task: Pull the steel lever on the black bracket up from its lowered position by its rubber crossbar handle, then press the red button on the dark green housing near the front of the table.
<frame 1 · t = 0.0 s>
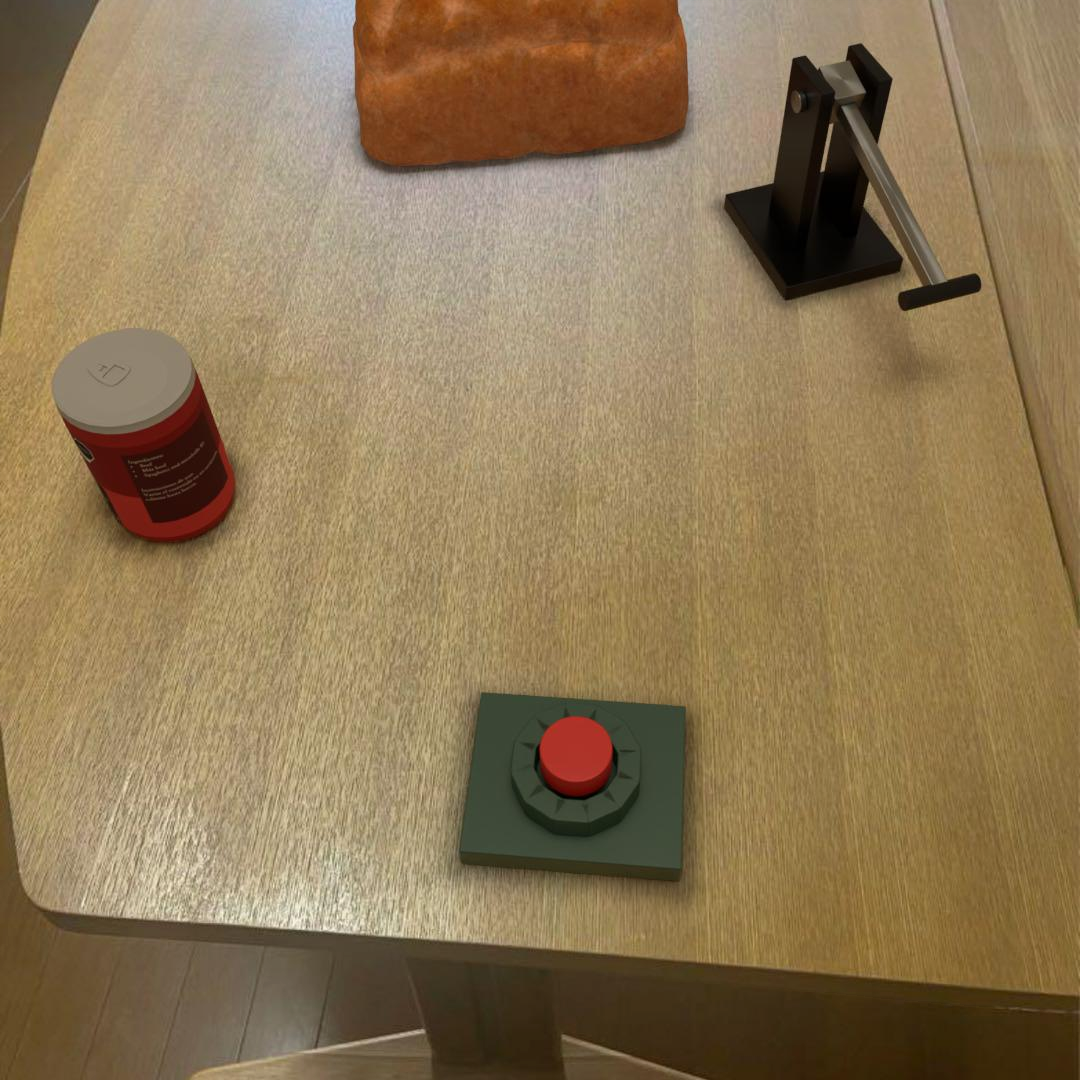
lever: (884, 183, 75), point 10 cm above the table, hinge at -15.0°
canned food: (177, 499, 75), on the table
button: (576, 756, 59), point 4 cm above the table, slide at 0.1 cm
button box: (576, 789, 62), on the table
bracket: (809, 238, 88), on the table
bread: (522, 116, 98), on the table
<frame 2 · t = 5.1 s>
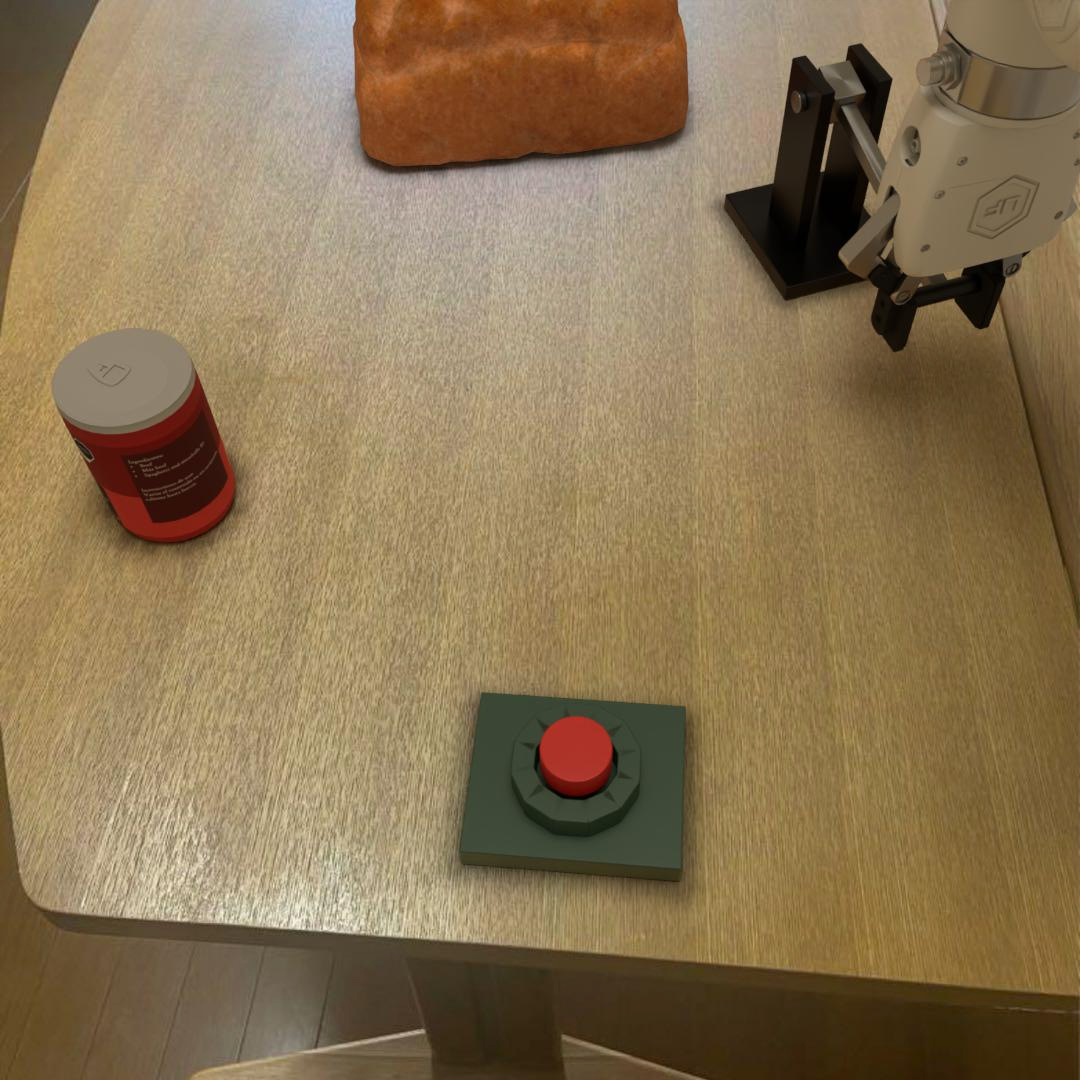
hand: (929, 323, 75), 5 cm above the table, tool pointing down, fingers closed on lever, 5 cm apart
lever: (884, 183, 75), point 10 cm above the table, hinge at -15.0°, touching gripper
everything else where it was.
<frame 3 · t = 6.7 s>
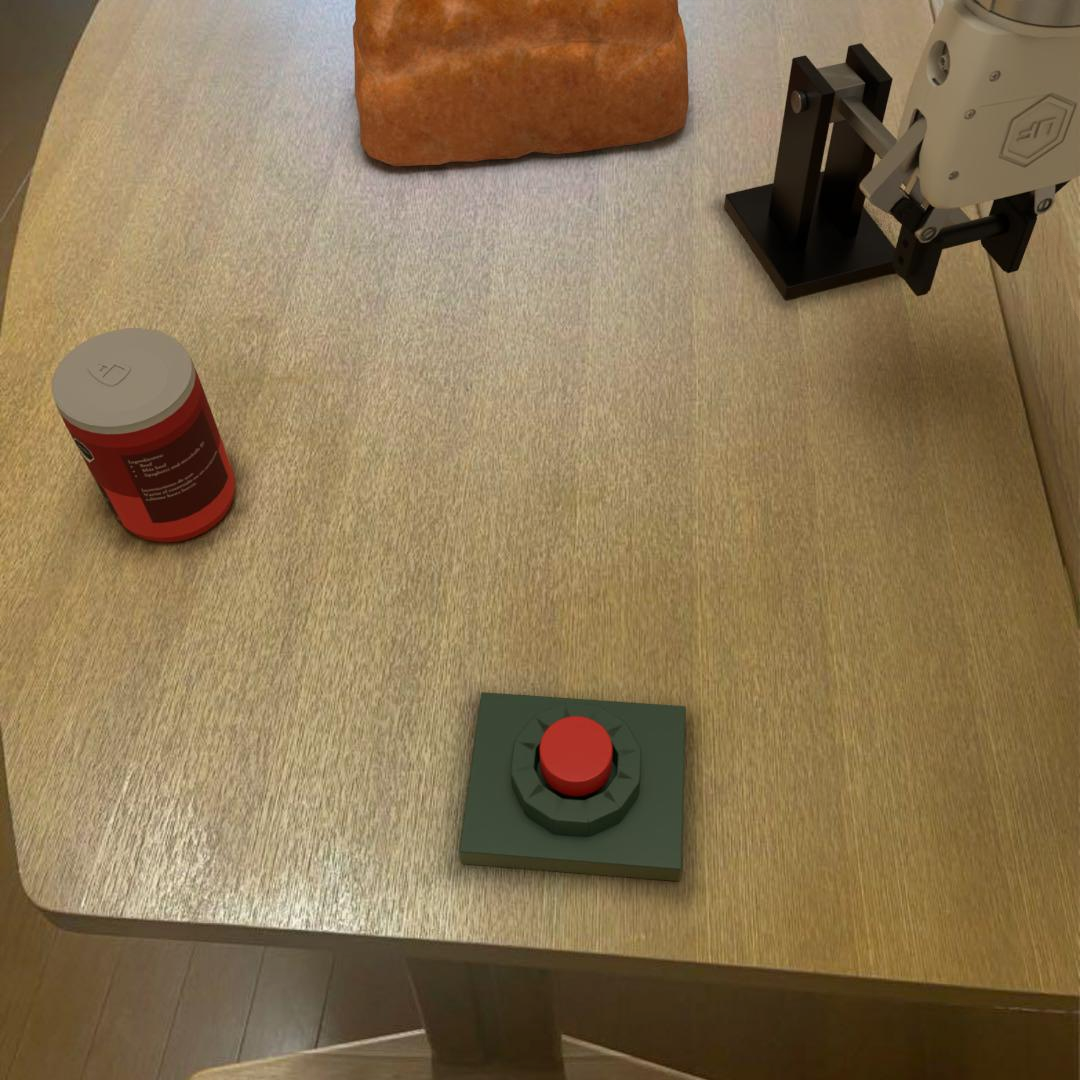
hand: (955, 266, 70), 10 cm above the table, tool pointing down, fingers closed on lever, 5 cm apart
lever: (893, 154, 73), point 12 cm above the table, hinge at 2.8°, touching gripper
everything else where it was.
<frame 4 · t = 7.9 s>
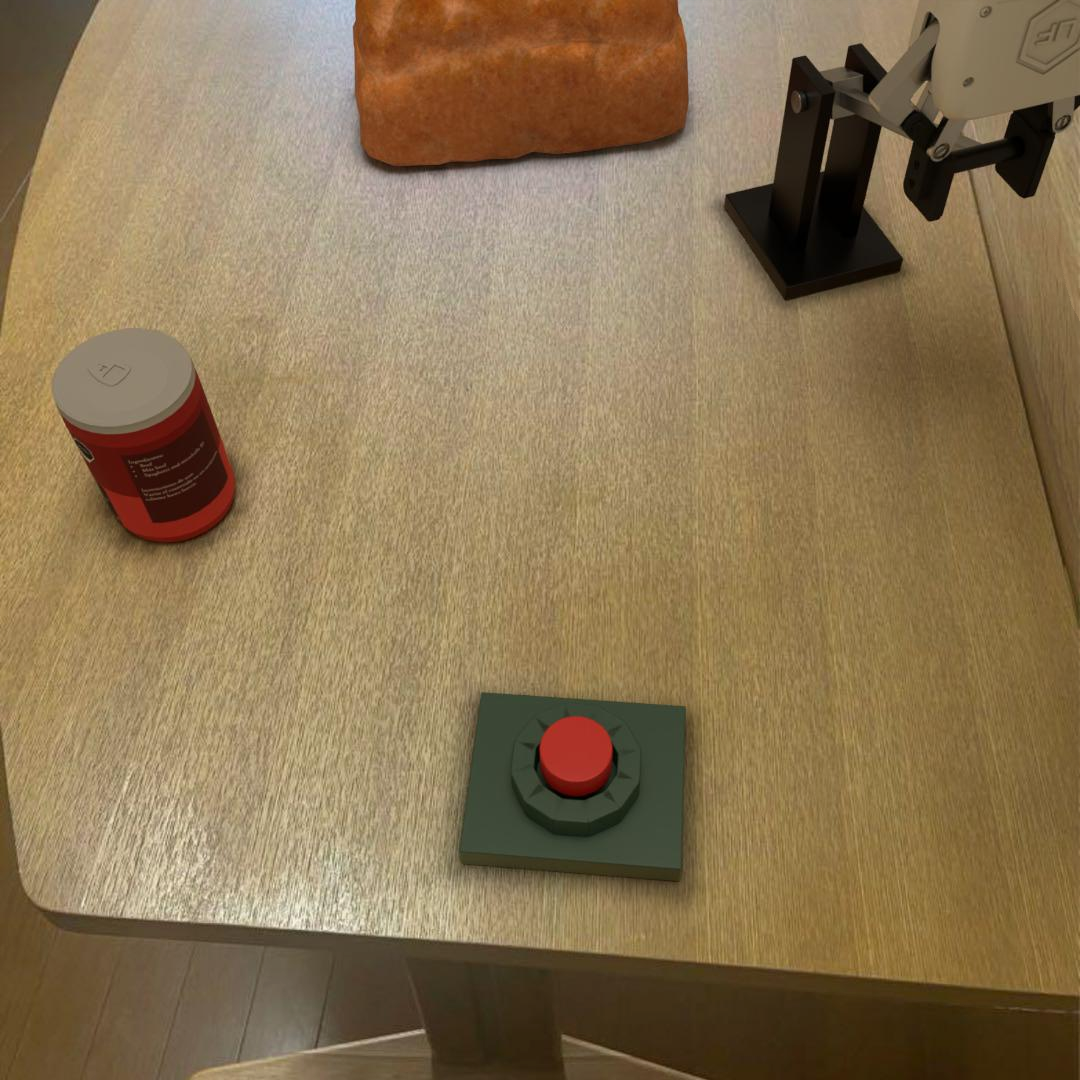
hand: (968, 192, 67), 15 cm above the table, tool pointing down, fingers closed on lever, 5 cm apart
lever: (897, 120, 72), point 15 cm above the table, hinge at 19.5°, touching gripper
everything else where it was.
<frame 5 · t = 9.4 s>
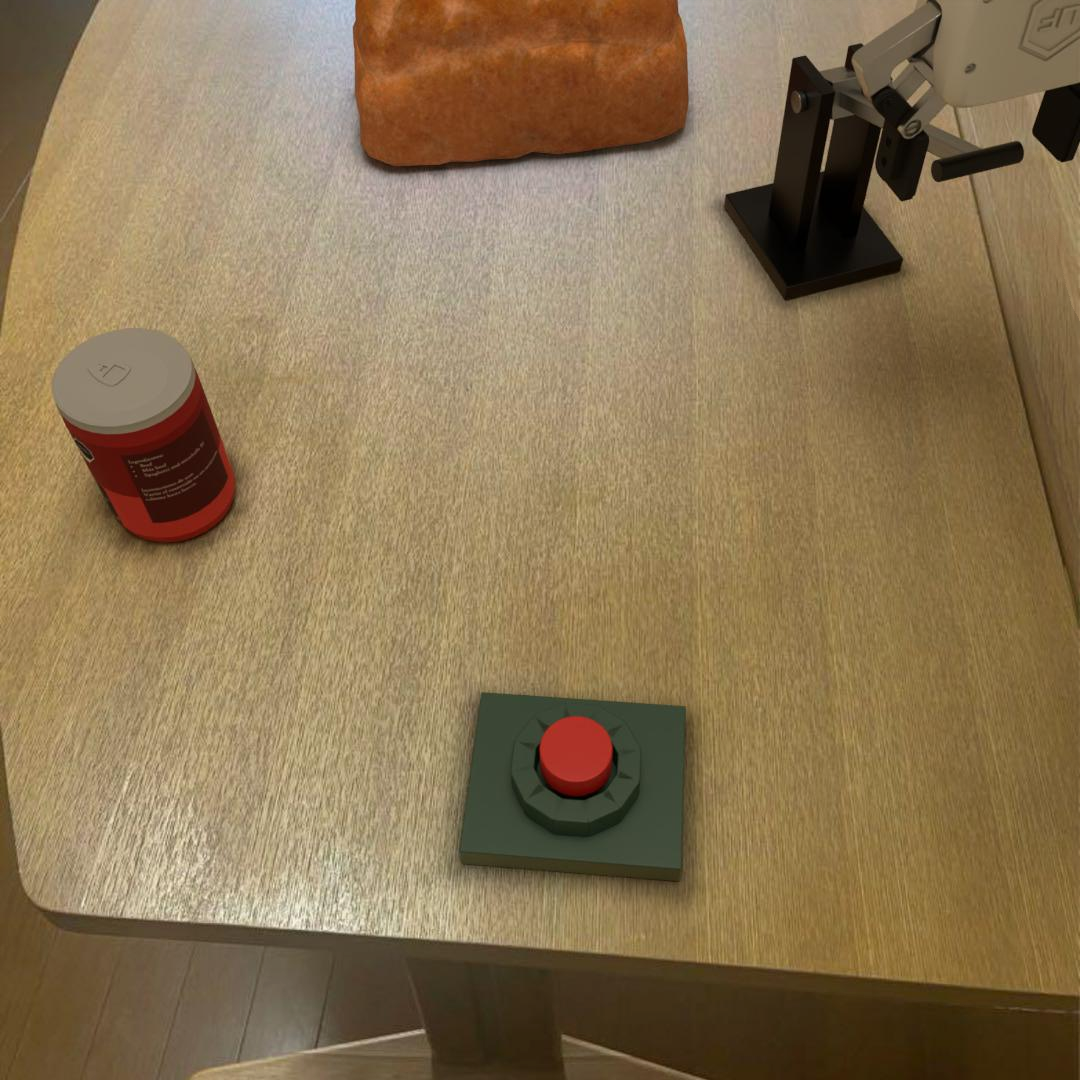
hand: (973, 166, 66), 17 cm above the table, tool pointing down, fingers open, 9 cm apart
lever: (897, 122, 72), point 14 cm above the table, hinge at 18.5°
everything else where it was.
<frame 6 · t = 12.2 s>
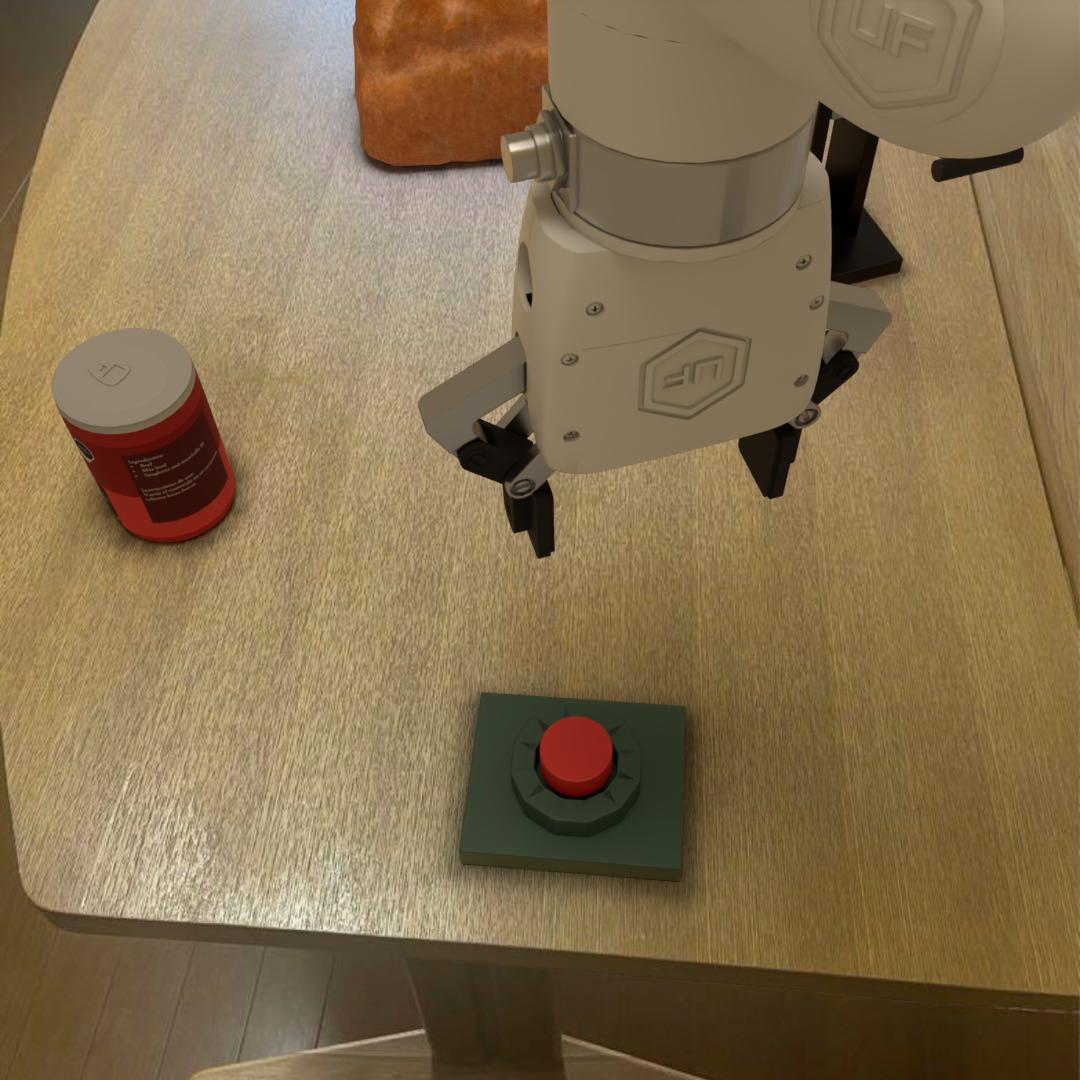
hand: (648, 500, 48), 20 cm above the table, tool pointing down, fingers open, 9 cm apart
nothing on the table moved.
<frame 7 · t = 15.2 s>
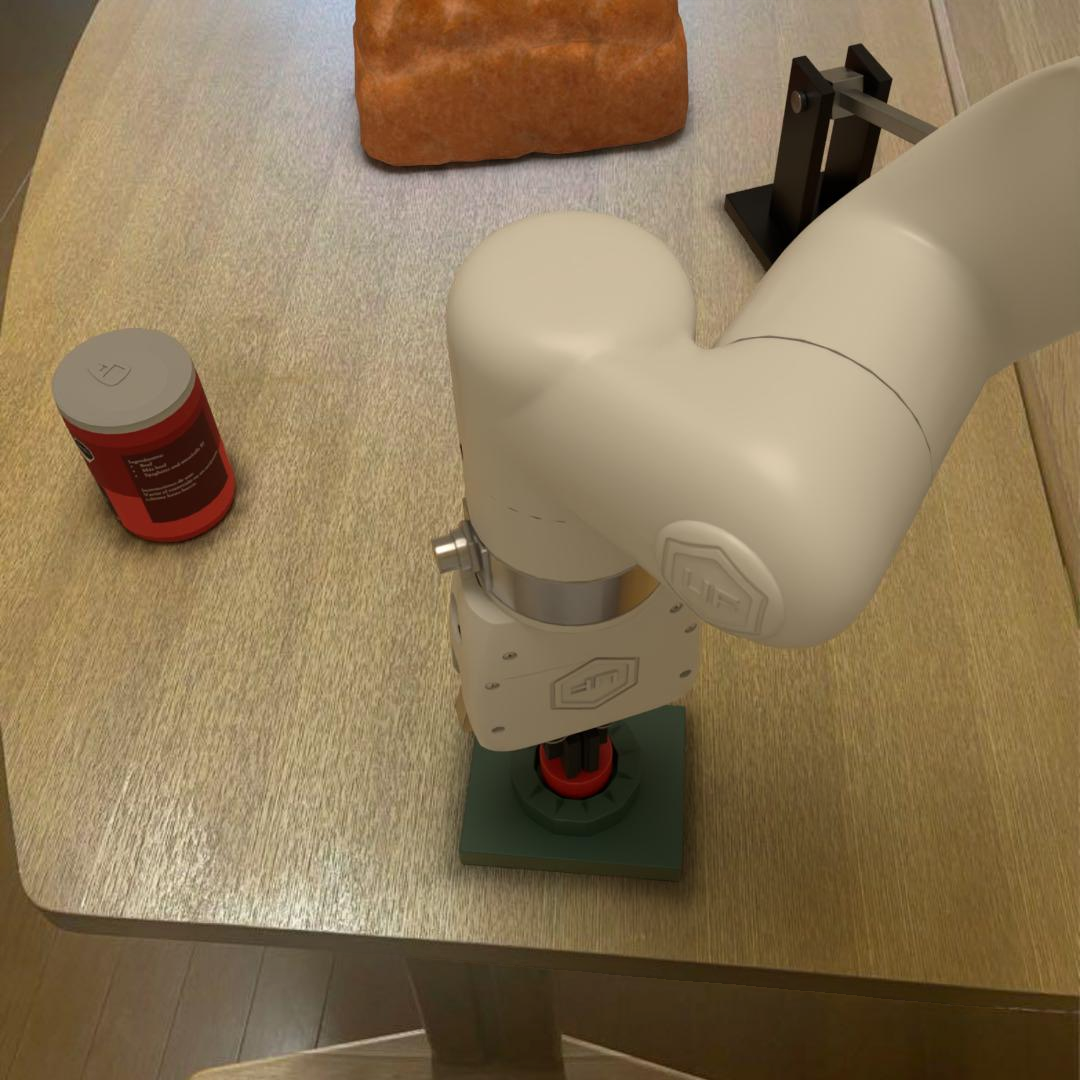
hand: (572, 748, 59), 5 cm above the table, tool pointing down, fingers closed
button: (576, 758, 59), point 4 cm above the table, slide at -0.1 cm, touching gripper
everything else where it was.
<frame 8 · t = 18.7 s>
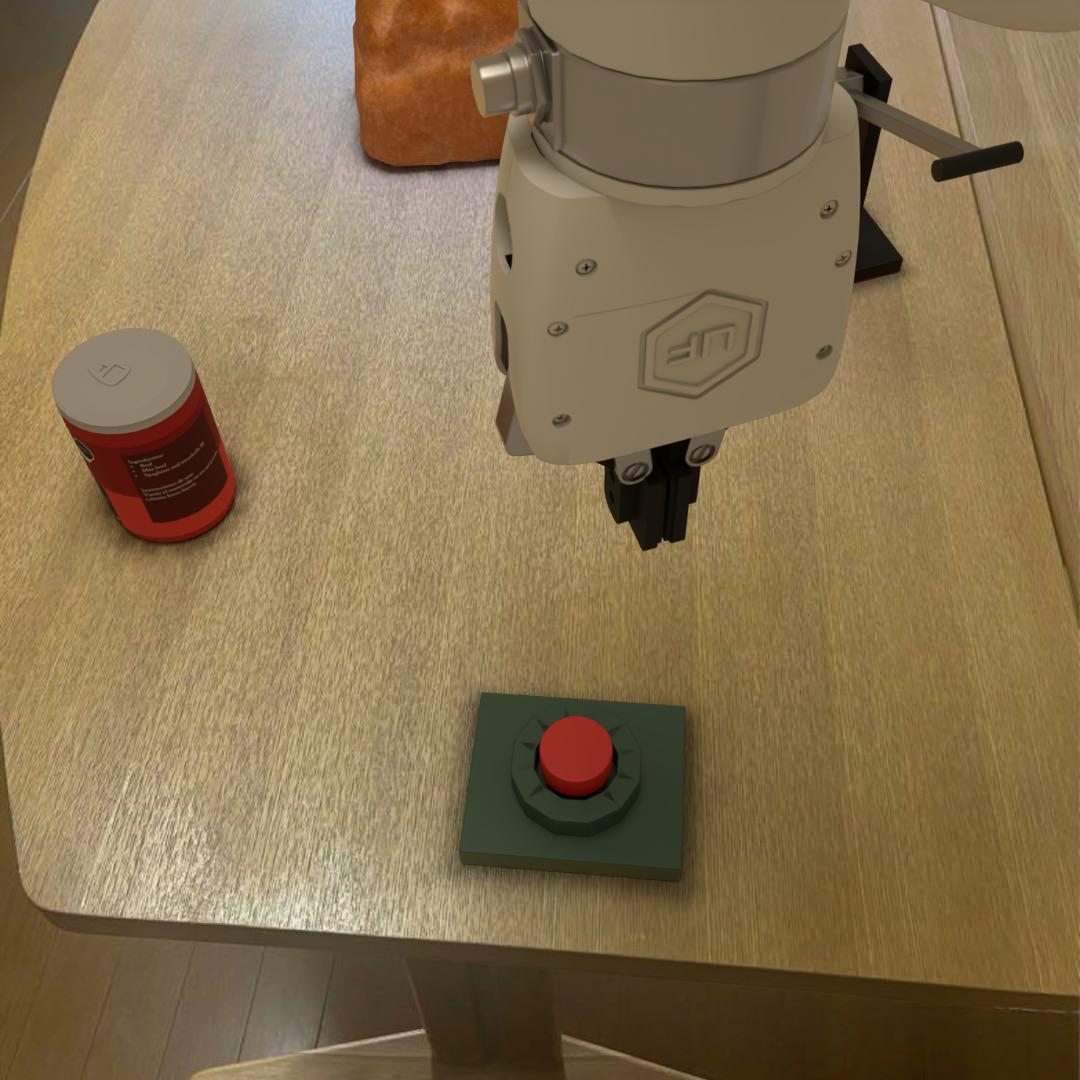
hand: (648, 516, 44), 23 cm above the table, tool pointing down, fingers closed
button: (576, 756, 59), point 4 cm above the table, slide at 0.1 cm
everything else where it was.
at the end: lever at +18° (first picture: -15°); button pushed in 1.1 cm at the most during the clip, back to where it started at the end; button slide at 0.1 cm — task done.
